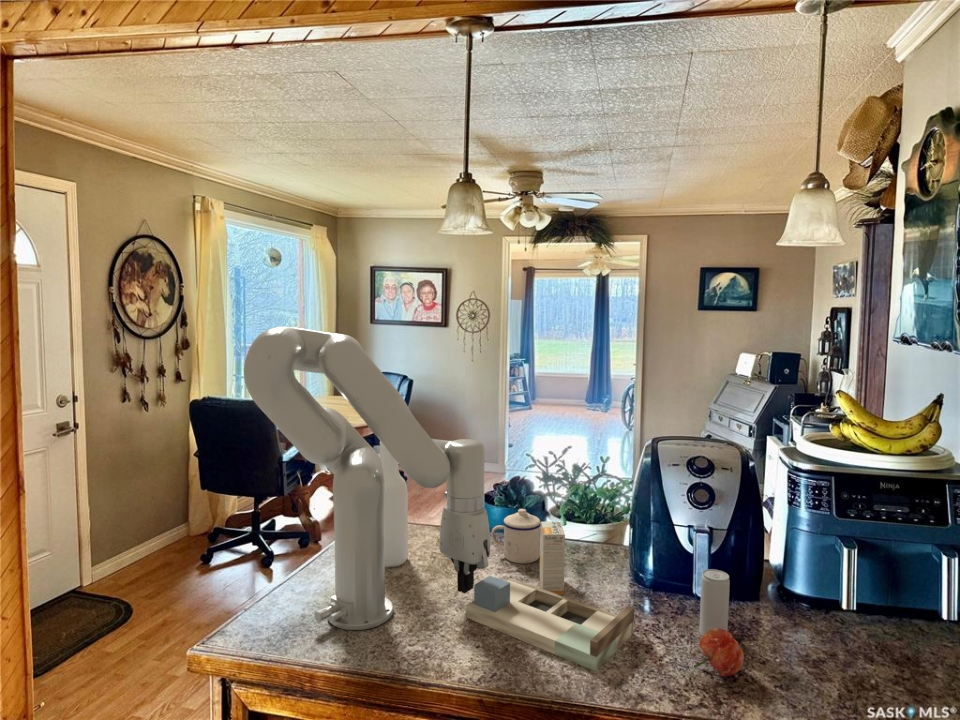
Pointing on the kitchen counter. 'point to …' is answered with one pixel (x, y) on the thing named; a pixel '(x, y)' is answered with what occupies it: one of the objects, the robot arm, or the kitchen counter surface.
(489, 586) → the slate block
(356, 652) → the kitchen counter surface
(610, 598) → the kitchen counter surface
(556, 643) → the board
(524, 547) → the teacup with lid
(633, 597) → the kitchen counter surface
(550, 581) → the supplement box
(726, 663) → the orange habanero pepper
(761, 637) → the kitchen counter surface
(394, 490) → the alcohol
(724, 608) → the beverage can
